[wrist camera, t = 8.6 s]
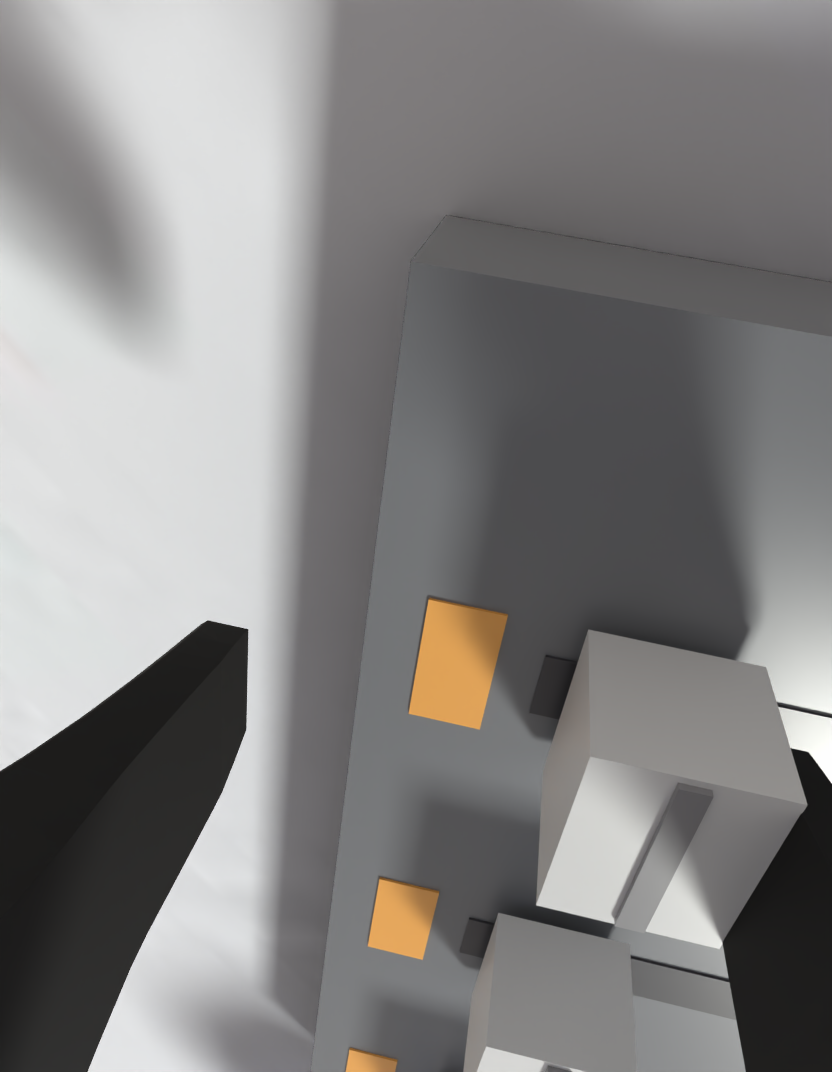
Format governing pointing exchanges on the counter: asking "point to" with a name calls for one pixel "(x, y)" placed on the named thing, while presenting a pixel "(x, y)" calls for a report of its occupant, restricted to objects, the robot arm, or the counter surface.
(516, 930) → the switch
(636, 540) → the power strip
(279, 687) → the counter surface
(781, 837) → the switch
